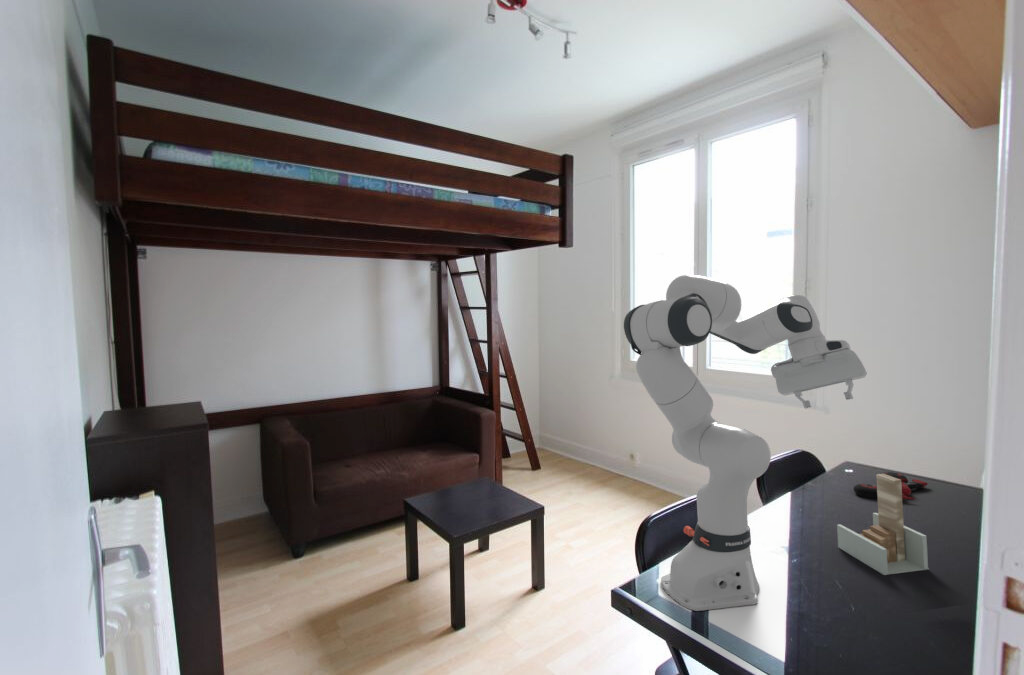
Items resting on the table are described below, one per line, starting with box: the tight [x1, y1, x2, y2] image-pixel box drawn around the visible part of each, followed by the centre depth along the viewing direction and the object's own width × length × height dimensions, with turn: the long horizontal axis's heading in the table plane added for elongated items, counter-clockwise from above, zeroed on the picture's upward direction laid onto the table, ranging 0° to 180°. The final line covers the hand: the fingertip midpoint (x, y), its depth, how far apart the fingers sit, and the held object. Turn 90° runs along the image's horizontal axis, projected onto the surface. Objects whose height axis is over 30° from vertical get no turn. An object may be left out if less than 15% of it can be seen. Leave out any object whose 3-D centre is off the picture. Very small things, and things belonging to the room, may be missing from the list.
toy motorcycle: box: [853, 471, 929, 500], centre depth 162 cm, size 25×5×16 cm
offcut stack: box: [858, 524, 896, 563], centre depth 119 cm, size 6×6×7 cm
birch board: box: [875, 473, 905, 561], centre depth 119 cm, size 2×5×20 cm, turn 5°
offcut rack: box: [836, 512, 929, 576], centre depth 119 cm, size 12×14×10 cm
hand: (828, 403), depth 123 cm, fingers open, 8 cm apart
